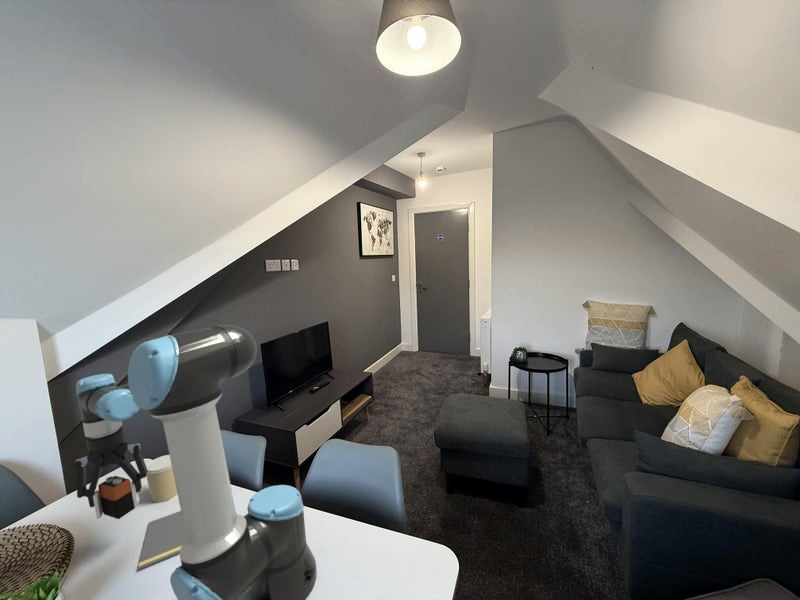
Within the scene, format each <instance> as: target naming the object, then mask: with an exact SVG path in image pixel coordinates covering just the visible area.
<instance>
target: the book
mask: <svg viewBox="0 0 800 600" xmlns="http://www.w3.org/2000/svg"><path fill="white" fill-rule="evenodd" d="M186 539H187V537H186V532H185V527H184V522H183V518H182V513H181V510H179V511H177V512H174V513H171V514H169V515H165V516H163V517H160V518H157V519H154V520H152V521H149V523H148V526H147V530H146V533H145V538H144V542H143V546H142V550H141V554H140V558H139V562H138V565H137V572H140V571H143V570H145V569H147V568H149V567H152V566H154V565H155V566H156V565H157V564H159V563H162V562H164V561H165V562H166V561H167V560H169V559H171V558H174V557H176V556H178V555H179V556H180V549H181V547H182V545H183V543H184V542H185V540H186Z"/></svg>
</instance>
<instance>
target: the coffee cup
mask: <svg viewBox="0 0 800 600" xmlns="http://www.w3.org/2000/svg"><path fill="white" fill-rule="evenodd" d="M146 467H147V470H148V472H147V475H146V477H145V478H146V480H147V483H148V484H147V485H148V488H149V491H150V494H151V499H152V501H153V502H154V503H156V504H157V503H164V502H167V501H170V500H171V499H173V498H174V497H176V496H178V493H177V488H176V484H175V479H174V474H173V469H172V464H171V459H170V455H169V454H166V455H162V456H160V457H157V458H154V459H152V460H151V461H150V462H148V463H147V465H146Z"/></svg>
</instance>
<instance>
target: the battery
mask: <svg viewBox="0 0 800 600" xmlns="http://www.w3.org/2000/svg"><path fill="white" fill-rule="evenodd" d="M97 487H98V490H99V493H100V498H101V503H102V508H103V515H105V516H108V517H111V518H114V519H116V520H120V519H121V518H123V517H125V515H127V514H129V513H131V511H133V510H135V508H136V506H134V501H133V496H132V490H131V479H130V478H125V477H121V476H118V475H114V476H109V477H107V478H106V479H105V481H103V482H101V483H99V484H97Z"/></svg>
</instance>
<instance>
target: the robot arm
mask: <svg viewBox="0 0 800 600" xmlns="http://www.w3.org/2000/svg"><path fill="white" fill-rule="evenodd" d="M257 353H258V346H257V342H256V340H255V338H254V336H253V335H252V333H251V332H249V331H248V330H246V329H244V328H242V327H240V326H238V325H232V324H220V325H215V326H211V327H207V328H206V327H205V328H201V329H196V330H192V331H191V330H190V331H186V332H181V333H176V334H175V333H174V334H170V335H168V334H167V335H166V336H165V335H164V336H162V337H158V338H153V339H151V340H148V341H145V342H142V343H141V344H139V345H138V346H137V347H136V348H135V349H134V351H133V353H132V354H131V357H130V359H129V362H128V369H127V380H128V383H126V384H123V385H119V386H116V383H117V382H116V380H115V377H114V375H113V374H111V373H100V374H96V375H91V376H86V377H84V378H81V379H79V380H78V381H77V382H76V384H75V389H76V394H75V395H76V397H77V400H78V407H79V411H80V416H81V421H82V426H83V432H84V436H85V437H86V438H85V442H86V447H87V456H84V457H79V458H77V459H76V460H75V461H74V463H73V467H74V469H75V471H76V496H77V498H78V499H80V498H83V497H87V500H88V505H89V507H90V508H94V509H95V514H96V515H95V516H96V519H97V520H98V519H101V518H102V516H103V515H104V513H103V508H102V503H101V498H100V493H99V489H97V487H98V483H99V480H100V476H101V473H102V470H103V468H104V467H107V466H109V465H115V464H116V465H117V466H118V467H120V468H121V469H122V470H123V471H124V473H125V474H126V475H127V477H128V478H129V479H130V483H131V490H132V496H133V501H134V506H135V507H136V506H138V505H139V502H140V495H139V493H140V492H141V491H142V487H143V486H142V479H144V478H147V477H146V475H147V472H148V470H147V467H146V466H147V465H146V462H145V460H144V456H143V454H142V452H141V445H142V444H141V442H139V441H137V442H136V443H135V444H129V443H128V442H127V441H126V438H125V432H124V428H123V427H122V426H123V421H127V420H129V419H131V418H133V417H134V416H135V414H137V413H138V412H139V411H140V410H147V411H149V414H150V415H149V416H151V417H152V418H155V419H157V420H159V421H161V422H162V424H163V430H164V433H165V434H164V435H165V439H166V445H167V449H168V455H170V459H171V464H172V469H173V474H174V479H175V484H176V488H177V493H178V494H177V497H178V502H179V506H180V511H181V513H182V518H183V522H184V527H185V532H186V537H187V539H186V540H185V542H184V543H183V545H182V547H181V549H180V554H179V558H180V562H181V563H180V564H181V565H180V566H177V567H176V568H175V569H174V570H173V572H171V575H170V577H169V578H170V579H169V580H170V585H171V589H172V591H173V593H174V595H175V597H176V599H177V600H238V599H239V598H240V597H241V596H242V595H243V594H244V593H245V592H246V591H247V590H248V588H249V596H250V597H249V598H250V600H306V599H307V598H308V596H309V595H310V594H311V592H312V590H313V588H314V587H315V583H316V581H317V573H318V572H317V571H318V570H317V563H316V558H315V556H314V554H313V553H312V550H311V548H310V547H309V545H308V543H307V535H306V527H305V524H306V523H305V514H304V511H305V507H304V506H305V505H304V503H303V499H302V495H301V493H300V491H299V490H298V489H297V488H296V487H294V486H291V485H287V484H279V485H272V486H268V487H265V488H263V489H261V490H259V491H257V492H256V493H255V494H254V495H252V497H251V498H250V499H249V501H248V504H247V505H248V506H247V508H246V509H247V513H246V514H245V515H244V516H243V515H241V514H237V512H236V507H235V501H234V497H233V496H234V494H233V491H232V487H231V486H232V485H231V480H230V475H229V470H228V469H229V468H228V465H227V459H226V454H225V449H224V443H223V439H222V435H221V428H220V423H219V417H218V413H217V408H216V405H217V403H218V402H219V400H220V399H221V397H222V396H223V392H222V387H221V383H224V382H226V381H229V380H231V379H233V378H236V377H238V376H240V375H242V374H243V373H245V372H246V371H247V370H248V369H250V367H251V366H253V364H254V362H255V361H256V358H257V355H258V354H257ZM128 450H129V452H130V454H132V456H133V459H134V462H135V465H136V467H137V469H136V468H135V466H133V464H132V463H131V462H130V461H129V460H128V458H127V456H126V455H125V453H126V452H127V451H128ZM88 462H90V463H92V464H94V465H95V467H94V470H93V474H92V477H91V480H90V483H89V486H88V488H87V465H88Z"/></svg>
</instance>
